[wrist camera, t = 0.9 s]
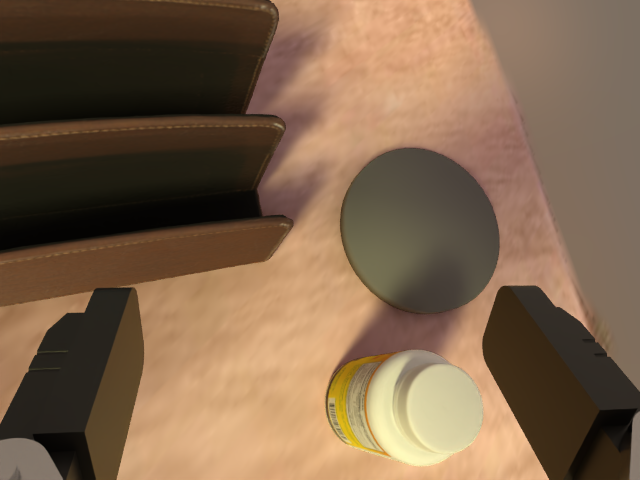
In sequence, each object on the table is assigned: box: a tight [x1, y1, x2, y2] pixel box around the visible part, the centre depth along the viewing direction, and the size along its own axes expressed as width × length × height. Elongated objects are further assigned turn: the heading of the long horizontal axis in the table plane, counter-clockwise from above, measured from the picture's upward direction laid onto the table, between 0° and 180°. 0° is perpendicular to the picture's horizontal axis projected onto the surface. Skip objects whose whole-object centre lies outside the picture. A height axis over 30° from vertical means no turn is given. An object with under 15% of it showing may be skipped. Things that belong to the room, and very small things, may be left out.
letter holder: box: [0, 0, 293, 307], centre depth 24 cm, size 10×20×14 cm, turn 104°
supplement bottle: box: [325, 350, 483, 466], centre depth 28 cm, size 6×6×10 cm
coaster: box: [340, 148, 499, 314], centre depth 36 cm, size 12×12×1 cm
